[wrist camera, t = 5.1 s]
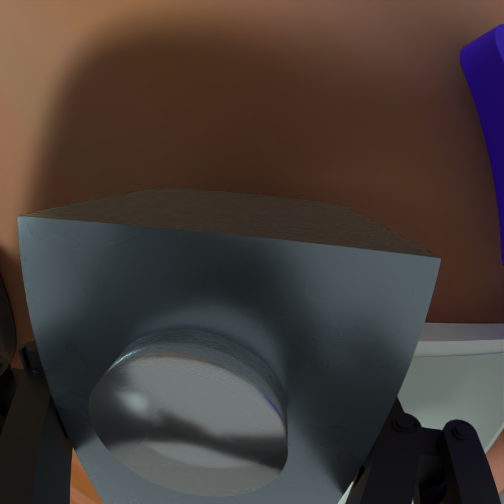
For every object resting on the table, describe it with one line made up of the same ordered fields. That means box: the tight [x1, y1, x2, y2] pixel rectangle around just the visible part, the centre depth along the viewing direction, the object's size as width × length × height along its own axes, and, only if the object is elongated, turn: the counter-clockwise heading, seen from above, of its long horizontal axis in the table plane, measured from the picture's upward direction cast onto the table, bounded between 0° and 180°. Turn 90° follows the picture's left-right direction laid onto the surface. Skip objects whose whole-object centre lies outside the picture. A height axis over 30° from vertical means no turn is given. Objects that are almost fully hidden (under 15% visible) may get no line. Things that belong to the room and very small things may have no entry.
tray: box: [338, 322, 504, 504], centre depth 18 cm, size 15×21×3 cm
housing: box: [17, 187, 441, 504], centre depth 10 cm, size 8×13×10 cm, turn 175°
